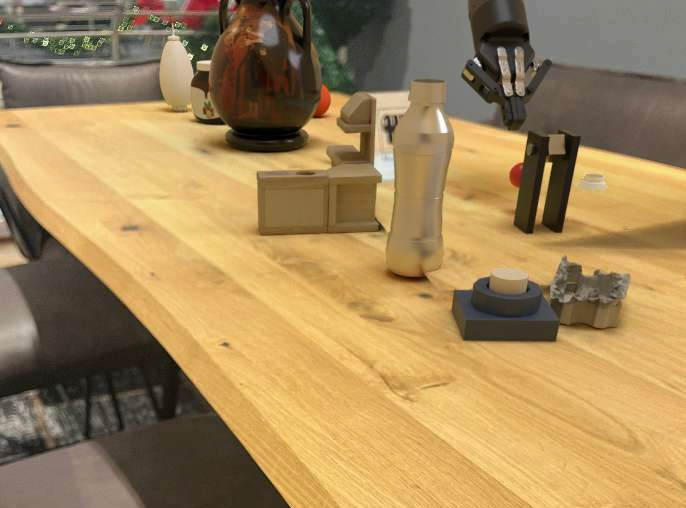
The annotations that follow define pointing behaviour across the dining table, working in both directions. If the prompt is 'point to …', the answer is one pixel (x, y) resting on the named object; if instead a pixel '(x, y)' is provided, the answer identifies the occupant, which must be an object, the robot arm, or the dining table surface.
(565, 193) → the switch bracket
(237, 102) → the amphora vase
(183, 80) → the sauce bottle
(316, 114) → the clementine
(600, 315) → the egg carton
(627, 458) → the dining table surface
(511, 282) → the button
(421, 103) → the plastic bottle
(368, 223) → the toy kitchen set
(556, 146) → the lever
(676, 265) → the dining table surface
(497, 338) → the control block
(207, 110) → the spread jar
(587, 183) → the lidless jar
